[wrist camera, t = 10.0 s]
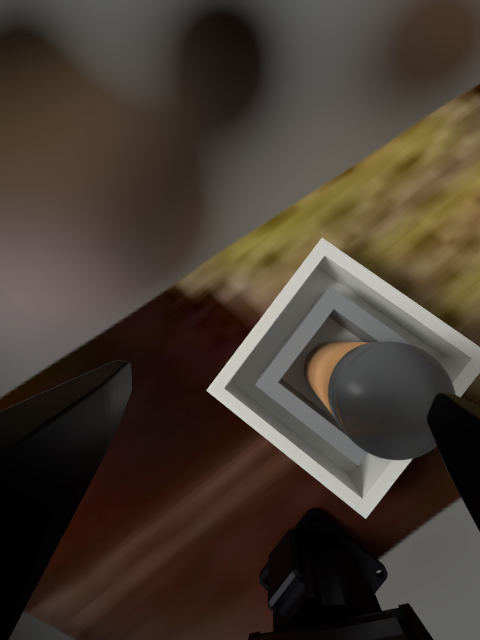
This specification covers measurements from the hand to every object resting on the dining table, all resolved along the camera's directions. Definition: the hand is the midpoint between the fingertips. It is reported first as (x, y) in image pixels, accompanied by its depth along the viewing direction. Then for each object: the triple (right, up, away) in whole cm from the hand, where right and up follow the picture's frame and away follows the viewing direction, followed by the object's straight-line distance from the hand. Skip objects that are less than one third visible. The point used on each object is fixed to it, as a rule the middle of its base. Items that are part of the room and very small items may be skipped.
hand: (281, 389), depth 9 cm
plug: (+5, -1, +13) cm, 14 cm away
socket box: (+5, -1, +13) cm, 15 cm away
